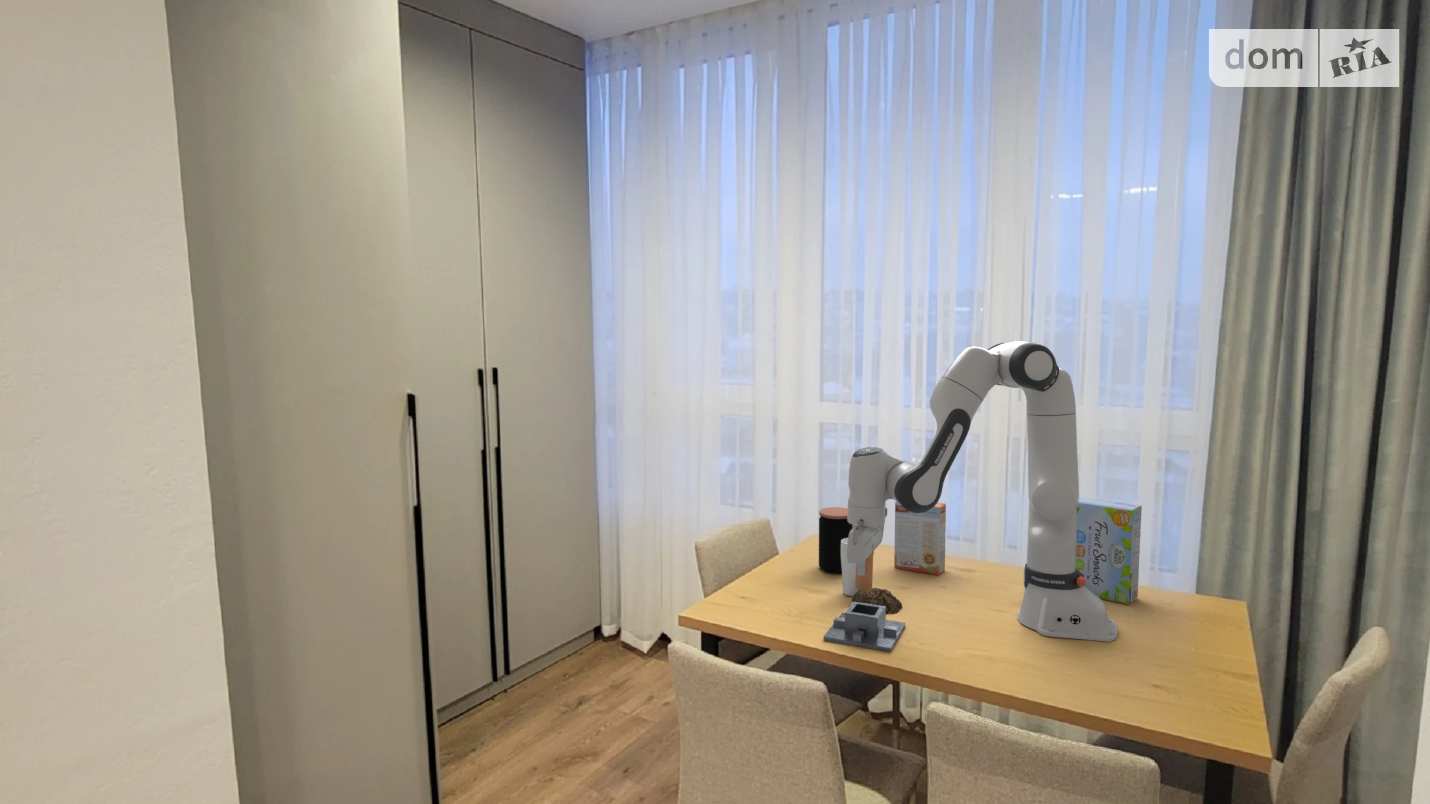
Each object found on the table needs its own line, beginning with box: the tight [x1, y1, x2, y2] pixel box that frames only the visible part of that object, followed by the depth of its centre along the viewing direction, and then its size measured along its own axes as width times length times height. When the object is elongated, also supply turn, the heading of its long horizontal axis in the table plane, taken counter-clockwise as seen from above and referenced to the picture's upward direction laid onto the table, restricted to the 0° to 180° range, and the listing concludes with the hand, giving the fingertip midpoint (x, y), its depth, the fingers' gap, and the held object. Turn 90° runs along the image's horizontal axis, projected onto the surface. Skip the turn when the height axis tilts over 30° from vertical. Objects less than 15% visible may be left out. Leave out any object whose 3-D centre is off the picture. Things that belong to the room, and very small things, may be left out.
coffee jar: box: [818, 506, 853, 575], centre depth 233 cm, size 11×11×18 cm
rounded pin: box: [855, 544, 874, 591], centre depth 185 cm, size 4×4×11 cm
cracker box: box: [893, 501, 947, 576], centre depth 232 cm, size 14×6×21 cm, turn 56°
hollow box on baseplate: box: [823, 602, 906, 653], centre depth 187 cm, size 16×16×6 cm
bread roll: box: [851, 587, 903, 614], centre depth 205 cm, size 13×12×5 cm
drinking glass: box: [841, 538, 859, 597], centre depth 213 cm, size 7×7×15 cm
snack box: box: [1075, 496, 1143, 605], centre depth 211 cm, size 22×9×26 cm, turn 46°
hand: (864, 571), depth 186 cm, fingers closed on rounded pin, 4 cm apart
